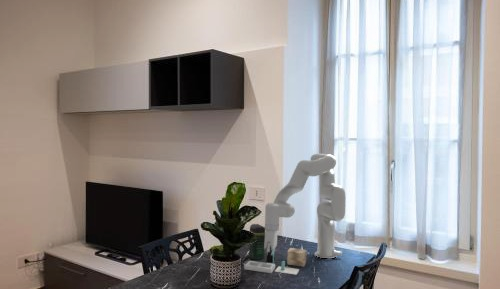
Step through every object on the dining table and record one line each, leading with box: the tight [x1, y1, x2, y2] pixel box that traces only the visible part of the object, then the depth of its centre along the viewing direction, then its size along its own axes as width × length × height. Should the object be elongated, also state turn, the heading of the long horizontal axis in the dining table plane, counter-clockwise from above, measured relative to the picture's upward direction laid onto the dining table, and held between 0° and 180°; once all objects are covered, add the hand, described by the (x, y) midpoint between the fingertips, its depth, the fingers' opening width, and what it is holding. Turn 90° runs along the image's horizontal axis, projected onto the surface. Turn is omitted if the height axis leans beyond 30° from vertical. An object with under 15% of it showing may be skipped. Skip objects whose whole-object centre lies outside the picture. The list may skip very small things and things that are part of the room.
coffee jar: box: [248, 223, 266, 261], centre depth 196 cm, size 10×8×19 cm
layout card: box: [274, 260, 300, 276], centre depth 176 cm, size 11×8×5 cm
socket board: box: [243, 260, 276, 274], centre depth 178 cm, size 14×8×2 cm, turn 72°
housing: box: [286, 247, 307, 267], centre depth 187 cm, size 9×6×8 cm
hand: (270, 260), depth 186 cm, fingers closed on pin, 3 cm apart
